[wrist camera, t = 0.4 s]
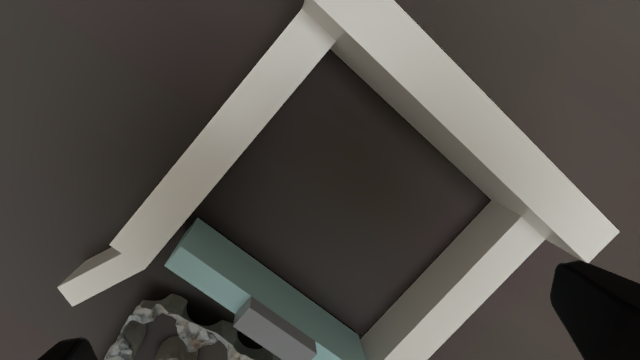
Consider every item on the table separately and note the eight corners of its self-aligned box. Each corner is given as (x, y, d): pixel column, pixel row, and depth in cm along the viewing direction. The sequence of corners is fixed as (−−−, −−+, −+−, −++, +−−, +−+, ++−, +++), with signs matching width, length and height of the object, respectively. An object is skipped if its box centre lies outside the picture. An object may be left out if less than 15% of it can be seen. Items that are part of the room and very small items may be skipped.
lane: (327, 425, 26) (342, 522, 20) (81, 266, 22) (11, 331, 16) (543, 201, 24) (627, 239, 18) (314, -22, 20) (330, -65, 14)
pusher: (345, 348, 25) (361, 413, 20) (183, 233, 22) (157, 276, 17) (358, 334, 25) (378, 396, 20) (197, 217, 22) (174, 255, 17)
